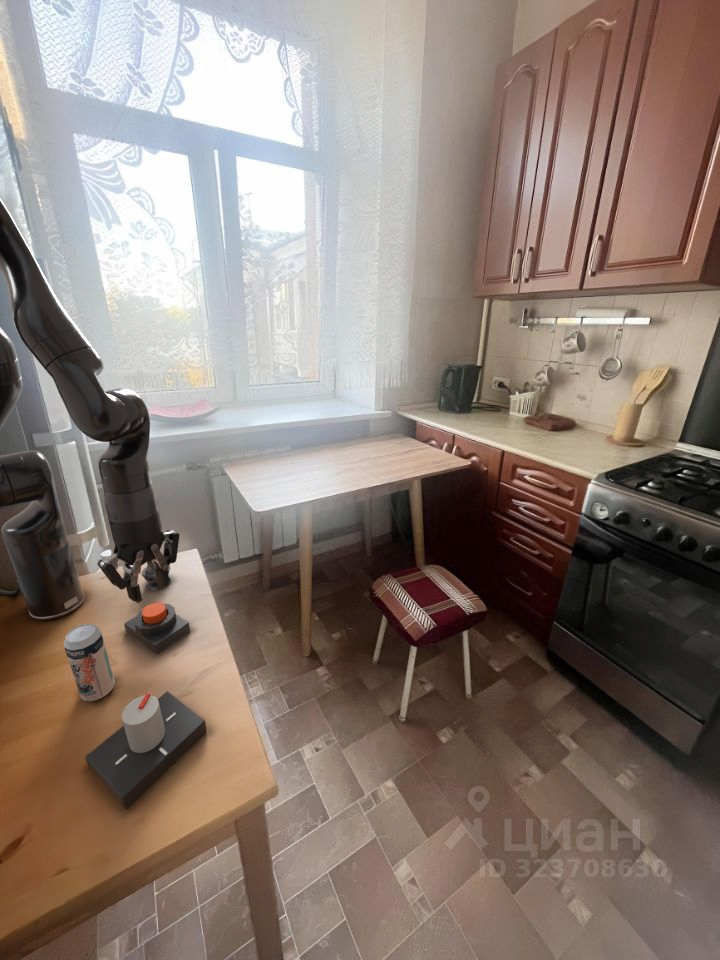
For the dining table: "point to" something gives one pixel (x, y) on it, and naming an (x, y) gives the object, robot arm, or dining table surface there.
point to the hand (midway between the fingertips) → (150, 592)
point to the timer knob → (143, 723)
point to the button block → (158, 630)
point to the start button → (154, 613)
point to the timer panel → (145, 753)
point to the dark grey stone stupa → (152, 576)
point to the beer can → (89, 662)
